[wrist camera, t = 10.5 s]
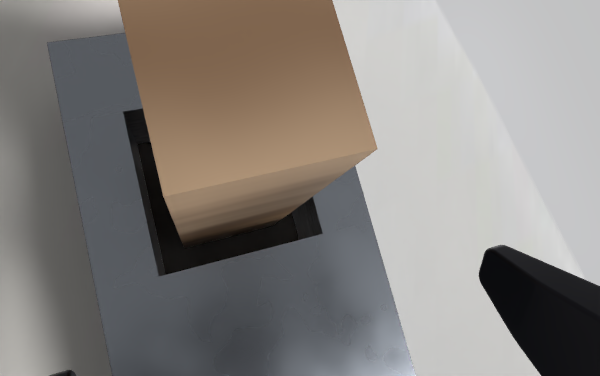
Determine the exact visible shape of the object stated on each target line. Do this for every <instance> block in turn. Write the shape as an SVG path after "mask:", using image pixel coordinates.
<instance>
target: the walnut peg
mask: <svg viewBox="0 0 600 376" xmlns="http://www.w3.org/2000/svg"><path fill="white" fill-rule="evenodd" d="M118 3H119V7H120V12H121V16H122V20H123V25H124V29H125V33H126V38H127V42H128V46H129V51H130V55H131V59H132V63H133V68H134V72H135V76H136V81H137V85H138V89H139V94H140V98H141V102H142V107H143V111H144V115H145V120H146V124H147V128H148V132H149V137H150V141H151V145H152V150H153V154H154V158H155V163H156V167H157V171H158V176H159V180H160V184H161V188H162V193H163V197H164V199H165V202H166V204H167V207H168V209H169V212H170V214H171V217H172V219H173V221H174V224H175V226H176V229H177V231H178V234H179V236H180V239H181V241H182V244H183V246H184V248H188V247H192V246H196V245H200V244H204V243H208V242H212V241H216V240H219V239H223V238H227V237H231V236H235V235H239V234H243V233H247V232H251V231H255V230H259V229H263V228H266V227H270V226H273V225H275V224H276V223H277V222H279V221H280V220H281V219H283V218H284V217H285V216H287V215H288V214H290V213H291V212H292V211H294V210H295V209H296V208H298V207H299V206H300V205H302V204H303V203H305V202H306V201H307V200H309V199H310V198H311V197H313V196H314V195H315V194H317V193H318V192H320V191H321V190H322V189H324V188H325V187H326V186H328V185H329V184H330V183H332V182H333V181H334V180H336V179H337V178H339V177H340V176H341V175H343V174H344V173H345V172H347V171H348V170H349V169H351V168H352V167H354V166H355V165H356V164H358V163H359V162H360V161H362V160H363V159H364V158H366V157H367V156H369V155H370V154H371V153H373V152H374V151H375V150H377V146H376V142H375V139H374V136H373V132H372V129H371V126H370V123H369V119H368V116H367V113H366V109H365V106H364V103H363V100H362V96H361V93H360V90H359V87H358V83H357V80H356V77H355V73H354V70H353V67H352V64H351V60H350V57H349V54H348V51H347V47H346V44H345V41H344V37H343V34H342V31H341V28H340V24H339V21H338V18H337V14H336V11H335V8H334V5H333V1H332V0H118Z"/></svg>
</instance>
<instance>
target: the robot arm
mask: <svg viewBox="0 0 600 376" xmlns="http://www.w3.org/2000/svg"><path fill="white" fill-rule="evenodd" d="M479 279H480V282H481V284H482V286H483V288H484V289H485V291H486V293H487V294H488V296H489V298H490V299H491V301H492V303H493V304H494V306H495V308H496V309H497V311H498V313H499V314H500V316H501V318H502V319H503V321H504V323H505V324H506V326H507V328H508V329H509V331H510V333H511V334H512V336H513V337H514V339H515V340H516V342H517V343H518V345H519V346H520V347H521V349H522V350H523V352H524V353H525V354H526V356H527V357H528V358H529V360H530V361H531V362H532V364H533V365H534V366H535V368H536V369H537V371H538V372H539V373H540V375H541V376H600V286H598V285H596V284H593V283H591V282H589V281H586V280H584V279H582V278H579V277H577V276H575V275H573V274H570V273H568V272H566V271H563V270H561V269H559V268H556V267H554V266H552V265H549V264H547V263H545V262H543V261H540V260H538V259H536V258H533V257H531V256H529V255H526V254H524V253H522V252H519V251H517V250H515V249H513V248H510V247H508V246H505V245H498V246H495V247H492V248H489V249H487V250H486V251H485V253H484V257H483V260H482V264H481V267H480V271H479ZM50 376H76V374H75V373H74V372H73V371H72V370H66V371H63V372H59V373H56V374H52V375H50Z"/></svg>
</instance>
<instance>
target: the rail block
mask: <svg viewBox="0 0 600 376" xmlns="http://www.w3.org/2000/svg"><path fill="white" fill-rule="evenodd" d="M47 45H48V50H49V55H50V60H51V65H52V70H53V75H54V81H55V86H56V91H57V96H58V101H59V106H60V111H61V116H62V121H63V126H64V131H65V137H66V142H67V147H68V152H69V157H70V162H71V167H72V172H73V177H74V182H75V188H76V193H77V198H78V203H79V208H80V213H81V218H82V223H83V228H84V233H85V239H86V244H87V249H88V254H89V259H90V264H91V269H92V274H93V279H94V284H95V289H96V295H97V300H98V305H99V310H100V315H101V320H102V325H103V330H104V335H105V340H106V346H107V351H108V356H109V361H110V366H111V371H112V376H416V375H415V371H414V368H413V364H412V361H411V357H410V354H409V350H408V347H407V343H406V340H405V336H404V333H403V330H402V326H401V323H400V319H399V316H398V312H397V309H396V305H395V302H394V298H393V295H392V292H391V288H390V285H389V281H388V278H387V274H386V271H385V267H384V264H383V260H382V257H381V254H380V250H379V247H378V243H377V240H376V236H375V233H374V229H373V226H372V222H371V219H370V216H369V212H368V209H367V205H366V202H365V198H364V195H363V191H362V188H361V184H360V181H359V178H358V174H357V171H356V167H355V166H354V167H352V168H351V169H349V170H348V171H347V172H345V173H344V174H343V175H341V176H340V177H339V178H337V179H336V180H334V181H333V182H332V183H330V184H329V185H328V186H326V187H325V188H324V189H322V190H321V191H320V192H318V193H317V194H315V195H314V196H313V197H311V198H310V199H309V200H307V201H306V202H305V203H303V204H302V205H300V206H299V207H298V208H296V209H295V210H294V211H292V215H293V219H294V223H295V227H296V230H297V234H298V238H299V240H297V241H293V242H290V243H286V244H282V245H278V246H274V247H270V248H267V249H263V250H259V251H255V252H251V253H247V254H244V255H240V256H236V257H232V258H228V259H224V260H221V261H217V262H213V263H209V264H205V265H201V266H198V267H194V268H190V269H186V270H182V271H178V272H175V273H171V274H167V275H166V273H165V268H164V264H163V259H162V255H161V250H160V245H159V241H158V236H157V232H156V227H155V223H154V218H153V214H152V209H151V204H150V200H149V195H148V191H147V186H146V182H145V177H144V173H143V168H142V163H141V159H140V154H139V150H138V145H137V144H141V143H147V142H151V141H150V137H149V132H148V128H147V124H146V120H145V115H144V111H143V107H142V102H141V98H140V94H139V89H138V85H137V81H136V76H135V72H134V68H133V63H132V59H131V55H130V51H129V46H128V42H127V38H126V33H122V34H114V35H105V36H97V37H89V38H81V39H72V40H64V41H56V42H47Z"/></svg>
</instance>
